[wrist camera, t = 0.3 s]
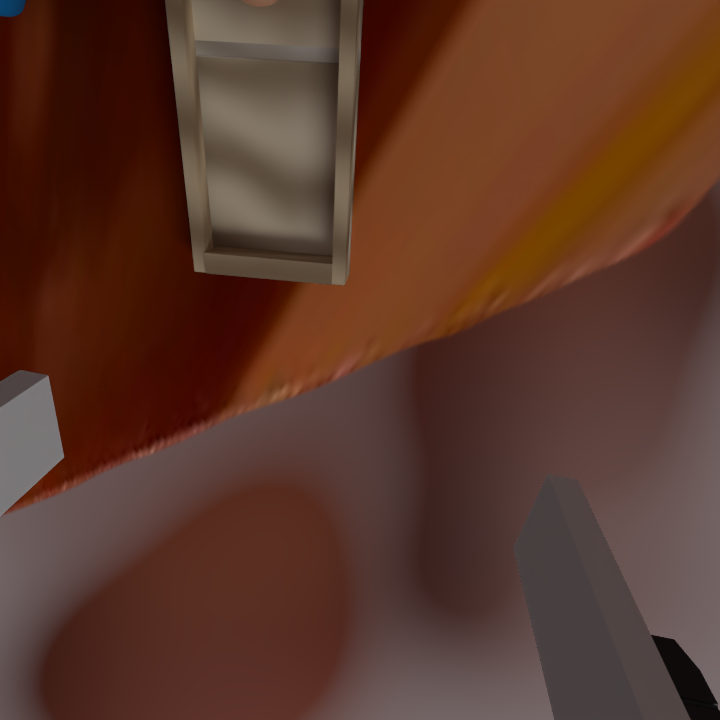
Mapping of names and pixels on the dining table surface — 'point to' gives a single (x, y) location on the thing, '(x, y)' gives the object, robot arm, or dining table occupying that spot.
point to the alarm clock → (11, 7)
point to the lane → (268, 134)
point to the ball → (260, 2)
